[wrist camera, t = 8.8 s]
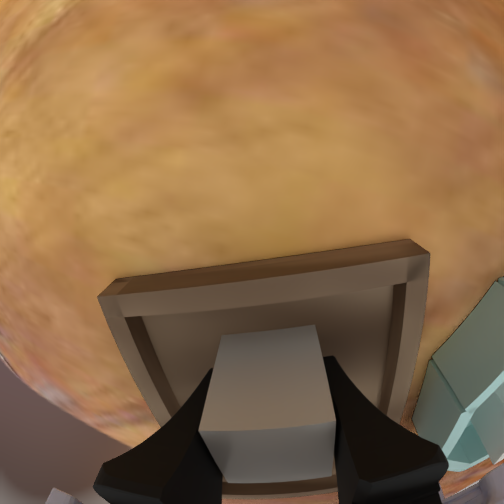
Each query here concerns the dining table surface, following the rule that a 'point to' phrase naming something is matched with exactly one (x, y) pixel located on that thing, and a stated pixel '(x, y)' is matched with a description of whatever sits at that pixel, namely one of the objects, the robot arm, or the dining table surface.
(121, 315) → the tray
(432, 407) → the bowl
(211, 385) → the stone
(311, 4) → the dining table surface
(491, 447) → the stone
